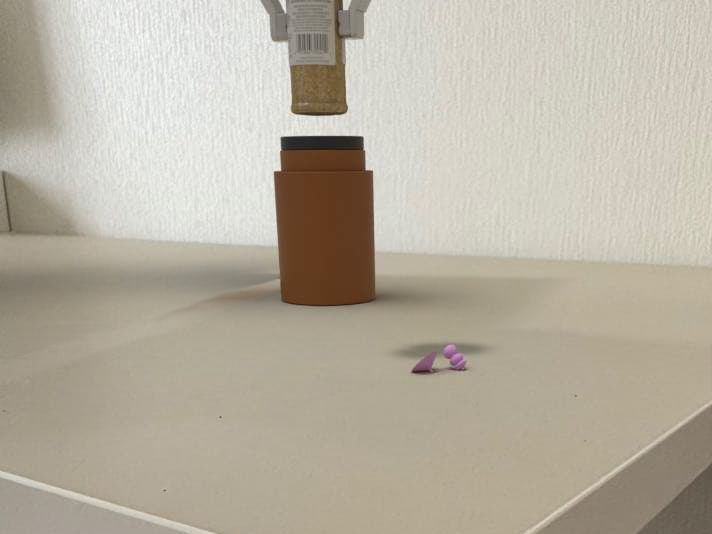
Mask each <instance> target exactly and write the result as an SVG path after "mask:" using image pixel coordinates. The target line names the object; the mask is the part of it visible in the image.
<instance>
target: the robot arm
mask: <svg viewBox="0 0 712 534" xmlns="http://www.w3.org/2000/svg"><path fill="white" fill-rule="evenodd" d="M371 2H372V0H350V2H349V6H348V8H347V9H343V10H340V11H338V22H339V23H340V25H339V27H338V33H339V37H340V38H341V39H344V40H345V41H353V40H354V41H355V40H357V41H358V40H359V41H360V40H364V38H365V13H367V11H368V8H369V6H370V4H371ZM260 3H261V4H262V6H263V8H264V9H265V12H267V14H268V15H269V31H270V38H271V41H272V42H274V43H278V44H281V43H288V35H287V15H286V11H285V10H284V8H283V5H282V4H281V2H280V0H260Z"/></svg>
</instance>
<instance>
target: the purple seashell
mask: <svg viewBox="0 0 712 534" xmlns="http://www.w3.org/2000/svg"><path fill="white" fill-rule="evenodd" d="M442 353H443V357H444V358H445V359H447V360H449V365H450V366H451V367H453V369H454V370H455V371H464V370H466V369H467V368H466V367H465V366H466V365H467V360H466V359H464V355H463V354H462V353H459V350H458V347H457V346H456V345H455V344H448V345H447V346H445V348H444V349H443V352H442ZM437 355H438V351H433V352H431V353H430V354H428V355H426V356H425V357H423V358H422V359H421V360H420V361H418V362H417V363H416V364H415V365H414V366H413V367H412V369H411V372H412V373H413V372H414V373H415V372H416V373H417V372H425V371H429V373H431V374H432V373H435V371H434V370H433V369H432V368H433V365H434V362H435V360H436V357H437Z"/></svg>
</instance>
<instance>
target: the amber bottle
mask: <svg viewBox="0 0 712 534" xmlns="http://www.w3.org/2000/svg"><path fill="white" fill-rule="evenodd" d="M279 161H280V170H274V171H273V185H274V186H273V187H274V201H275V219H276V235H277V251H278V266H279V267H278V269H279V283H280V286H279V287H280V298H281V301H283V302H284V303H289V304H293V305H301V306H345V305H355V304H363V303H367V302H370V301H373V300H375V299H376V298H377V297H376V247H375V196H374V195H375V193H374V170H371V169H367V167H366V166H367V165H366V164H367V163H366V161H367V160H366V150H365V138H364V136H362V135H291V136H290V135H286V136H280V150H279Z"/></svg>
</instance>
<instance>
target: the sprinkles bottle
mask: <svg viewBox="0 0 712 534" xmlns="http://www.w3.org/2000/svg"><path fill="white" fill-rule="evenodd" d="M285 8H286V9H285V13H286V15H287V35H288V42H287V49H288V50H287V51H288V52H287V53H288V66H289V73H290V93H291V104H290V112H291V114H294V115H298V116H310V117H329V116H330V117H332V116H342V115H345V114H347V113H348V111H349V105H348V104H347V86H346V85H347V80H346V79H347V78H346V66H347V56H346V55H347V52H346V40H344V39H341V38H340V37H339V33H338V27H339V25H340V23H339V22H338V11H340V10H344V0H285Z"/></svg>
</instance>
